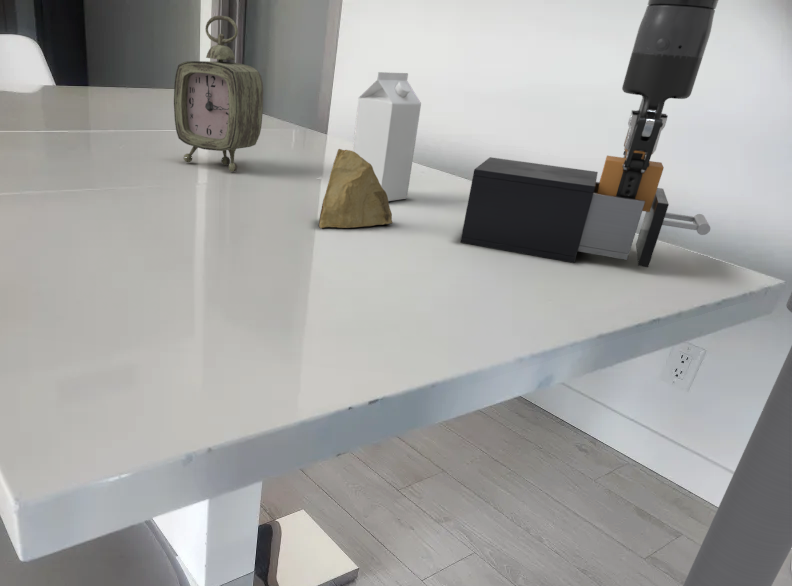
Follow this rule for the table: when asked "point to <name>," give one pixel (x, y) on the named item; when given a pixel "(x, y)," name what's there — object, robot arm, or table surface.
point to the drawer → (630, 226)
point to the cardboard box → (614, 174)
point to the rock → (354, 195)
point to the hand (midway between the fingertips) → (623, 198)
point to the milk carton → (388, 131)
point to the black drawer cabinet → (528, 208)
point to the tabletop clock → (218, 101)
